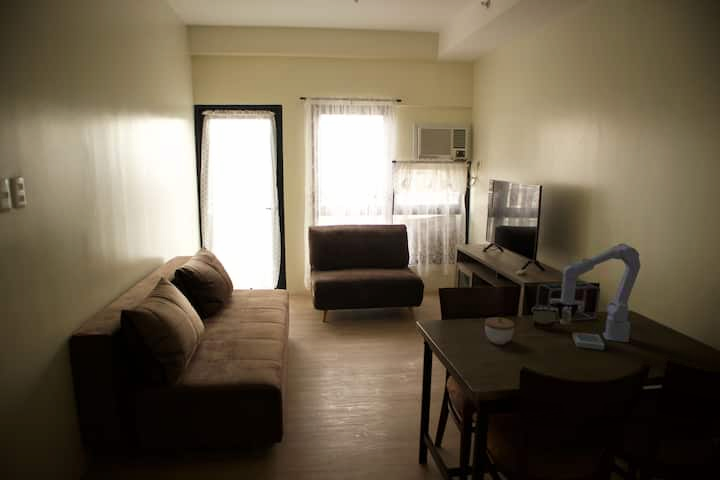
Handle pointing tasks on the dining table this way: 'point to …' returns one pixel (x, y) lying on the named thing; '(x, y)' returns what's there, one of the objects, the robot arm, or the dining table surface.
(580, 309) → the newton's cradle
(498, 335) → the lidded bowl
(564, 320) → the beige cardboard-like cube
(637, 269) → the robot arm
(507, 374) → the dining table surface
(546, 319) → the food container
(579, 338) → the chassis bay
